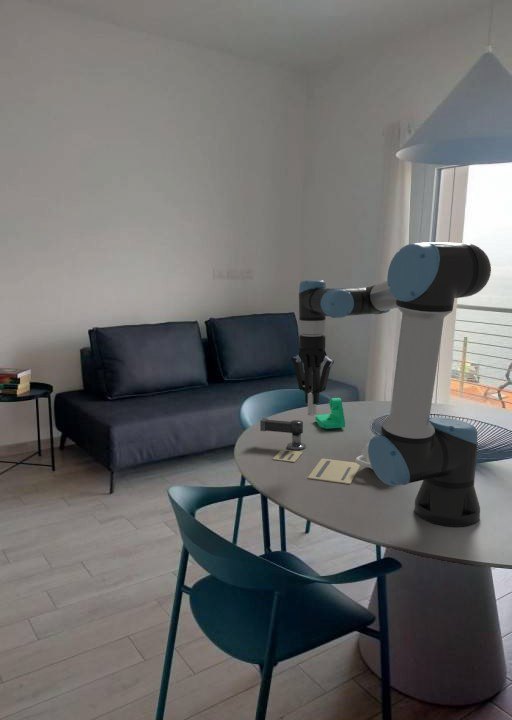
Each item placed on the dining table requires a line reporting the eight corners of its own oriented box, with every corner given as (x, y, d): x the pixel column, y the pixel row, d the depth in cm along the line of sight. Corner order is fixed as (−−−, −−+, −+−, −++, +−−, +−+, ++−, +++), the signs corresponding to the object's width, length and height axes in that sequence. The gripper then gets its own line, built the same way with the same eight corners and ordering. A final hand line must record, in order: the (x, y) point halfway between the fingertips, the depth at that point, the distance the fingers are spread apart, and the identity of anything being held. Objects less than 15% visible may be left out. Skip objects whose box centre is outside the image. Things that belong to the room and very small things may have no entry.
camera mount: (314, 421, 217) (315, 394, 215) (334, 420, 219) (334, 393, 217) (324, 431, 206) (324, 403, 204) (345, 430, 207) (345, 402, 205)
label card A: (294, 462, 176) (294, 461, 176) (272, 459, 178) (272, 458, 178) (302, 452, 184) (303, 451, 184) (281, 450, 186) (281, 449, 186)
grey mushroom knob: (302, 451, 185) (302, 437, 185) (284, 448, 188) (284, 435, 187) (307, 445, 191) (308, 431, 190) (290, 443, 193) (290, 429, 192)
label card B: (350, 484, 159) (350, 483, 159) (307, 478, 164) (307, 477, 163) (361, 464, 174) (361, 462, 174) (321, 459, 178) (321, 458, 178)
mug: (382, 464, 174) (384, 438, 173) (403, 476, 165) (405, 449, 164) (348, 470, 170) (349, 444, 168) (368, 482, 161) (369, 455, 159)
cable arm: (303, 431, 190) (304, 420, 189) (301, 434, 186) (301, 424, 185) (263, 427, 193) (263, 417, 193) (260, 431, 190) (259, 420, 189)
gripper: (338, 334, 167) (337, 414, 171) (298, 331, 174) (298, 408, 178) (327, 337, 161) (326, 420, 165) (286, 334, 168) (286, 414, 172)
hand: (312, 414), depth 171 cm, fingers closed
